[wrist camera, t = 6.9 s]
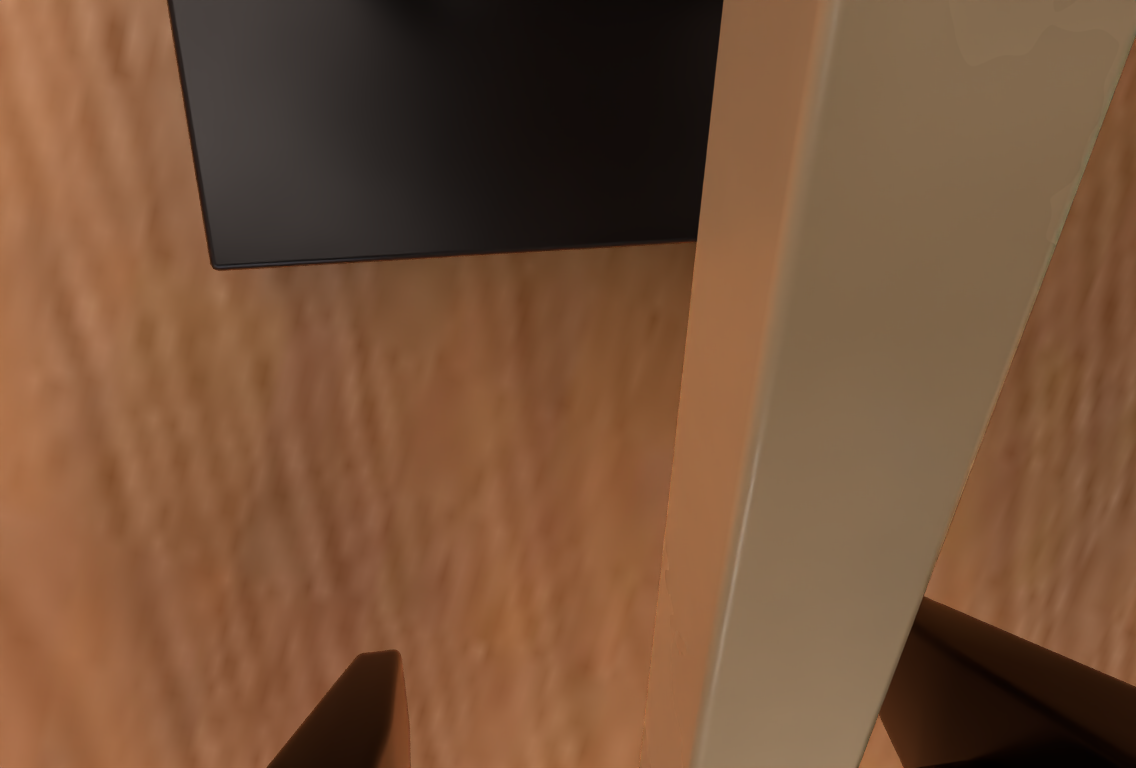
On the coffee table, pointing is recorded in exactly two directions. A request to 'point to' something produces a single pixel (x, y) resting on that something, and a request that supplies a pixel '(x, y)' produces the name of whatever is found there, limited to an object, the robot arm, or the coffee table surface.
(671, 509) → the switch lever
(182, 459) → the coffee table surface
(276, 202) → the switch bracket
